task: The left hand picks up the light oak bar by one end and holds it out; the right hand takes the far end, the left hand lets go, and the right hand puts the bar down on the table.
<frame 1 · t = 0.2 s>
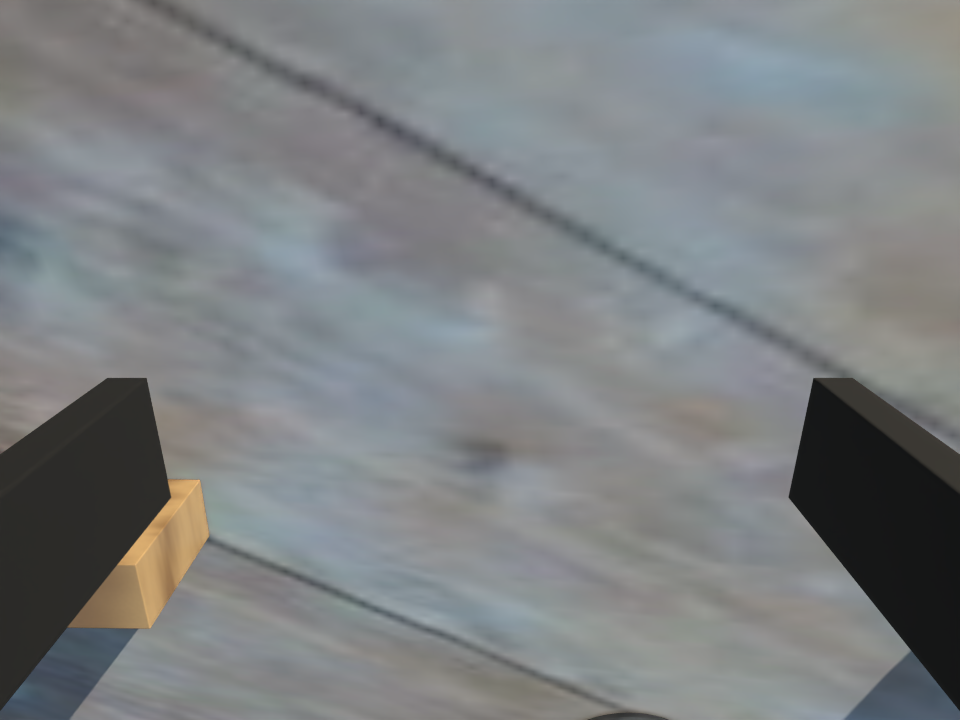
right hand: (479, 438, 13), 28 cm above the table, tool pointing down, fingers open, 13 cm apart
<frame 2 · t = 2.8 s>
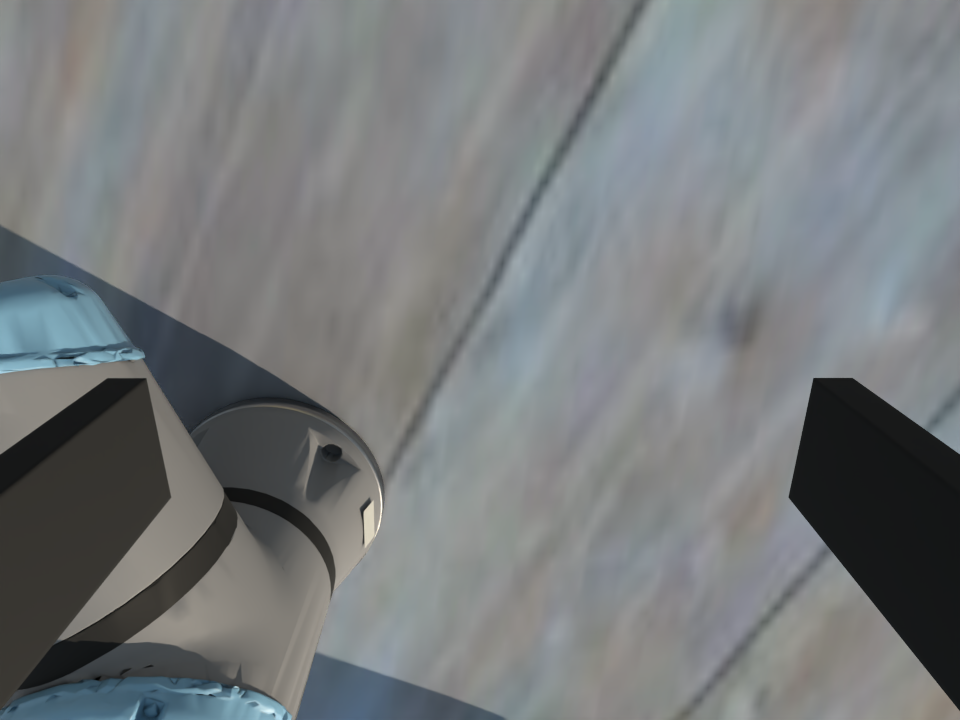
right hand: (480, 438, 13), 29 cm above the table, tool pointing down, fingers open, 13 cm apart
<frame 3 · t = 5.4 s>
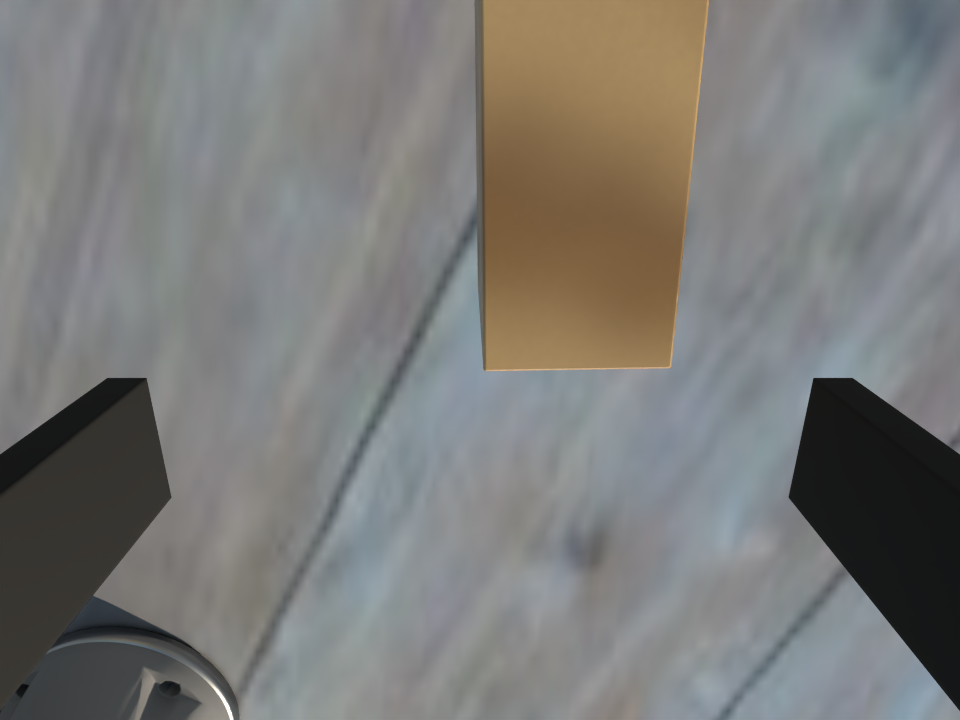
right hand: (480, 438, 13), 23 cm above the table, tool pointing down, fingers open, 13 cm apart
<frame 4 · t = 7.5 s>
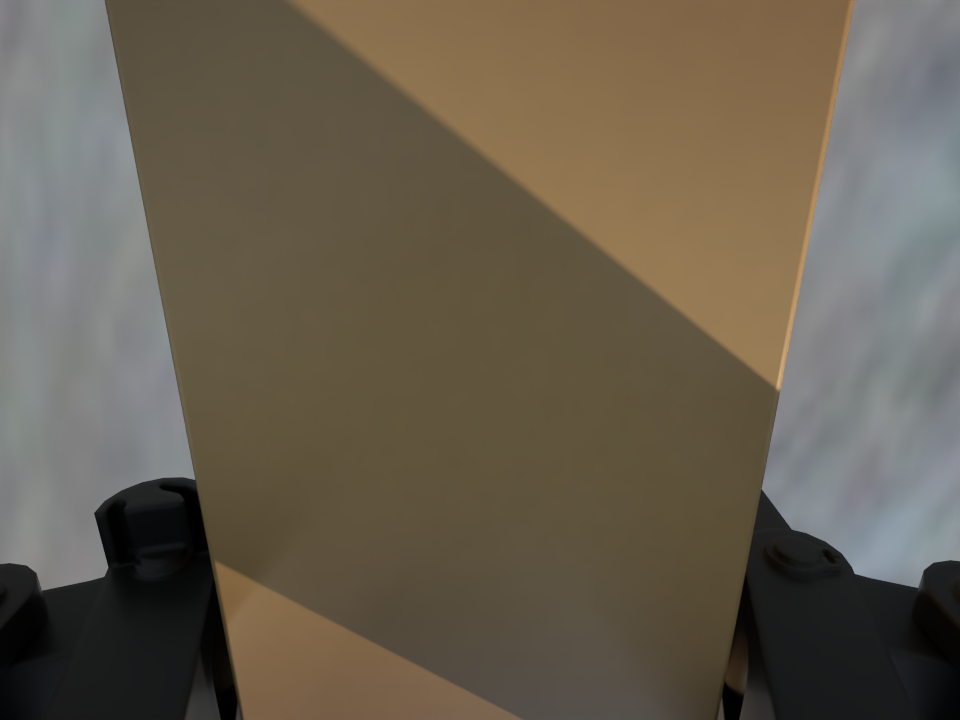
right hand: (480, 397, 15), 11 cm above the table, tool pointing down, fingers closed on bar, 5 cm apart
when the left hand's fingers open (11 cm above the table, at t = 8.2 s): bar stays where it is, held by the right hand.
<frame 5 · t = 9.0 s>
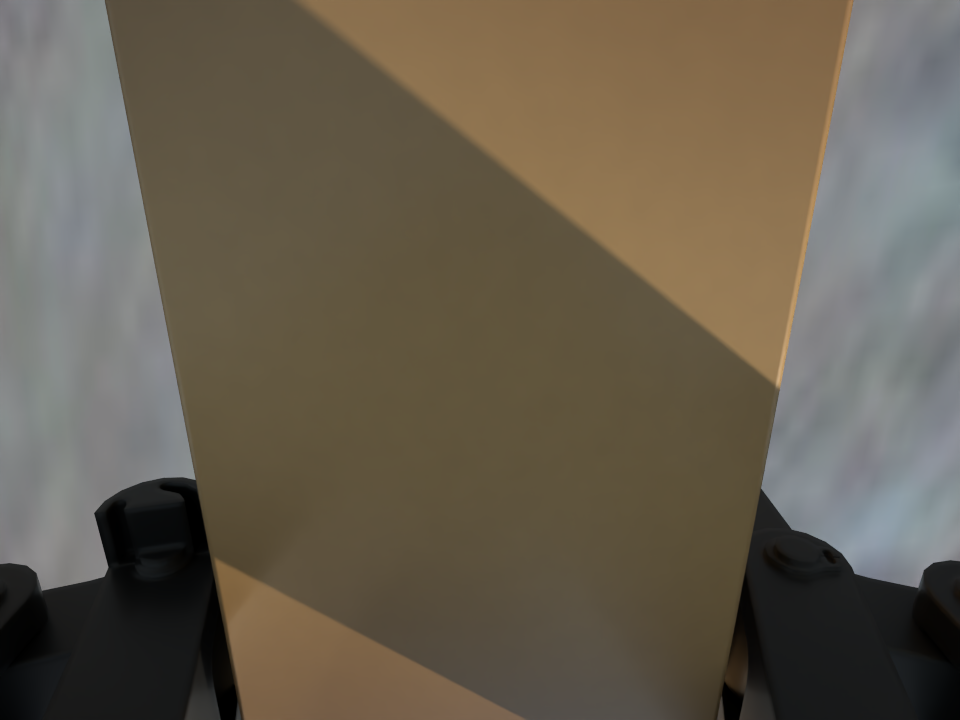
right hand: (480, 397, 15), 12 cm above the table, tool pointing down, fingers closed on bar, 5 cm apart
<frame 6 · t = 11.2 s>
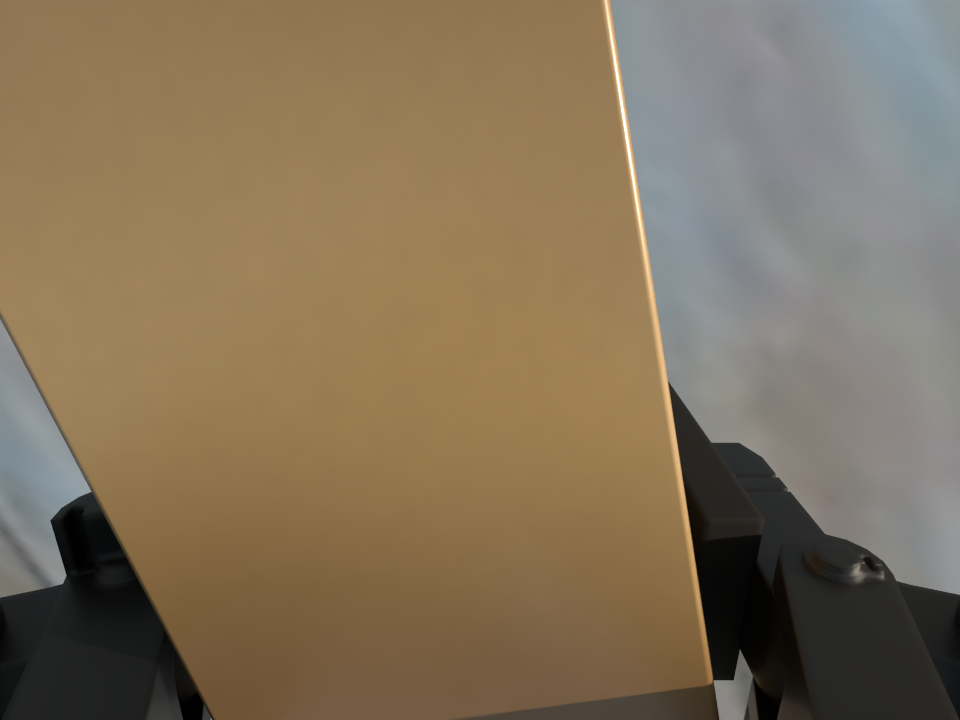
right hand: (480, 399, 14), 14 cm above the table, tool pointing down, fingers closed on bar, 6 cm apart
when the right hand's fingers open (2 cm above the table, at t = 13.1 s): bar drops 1 cm, on the table.
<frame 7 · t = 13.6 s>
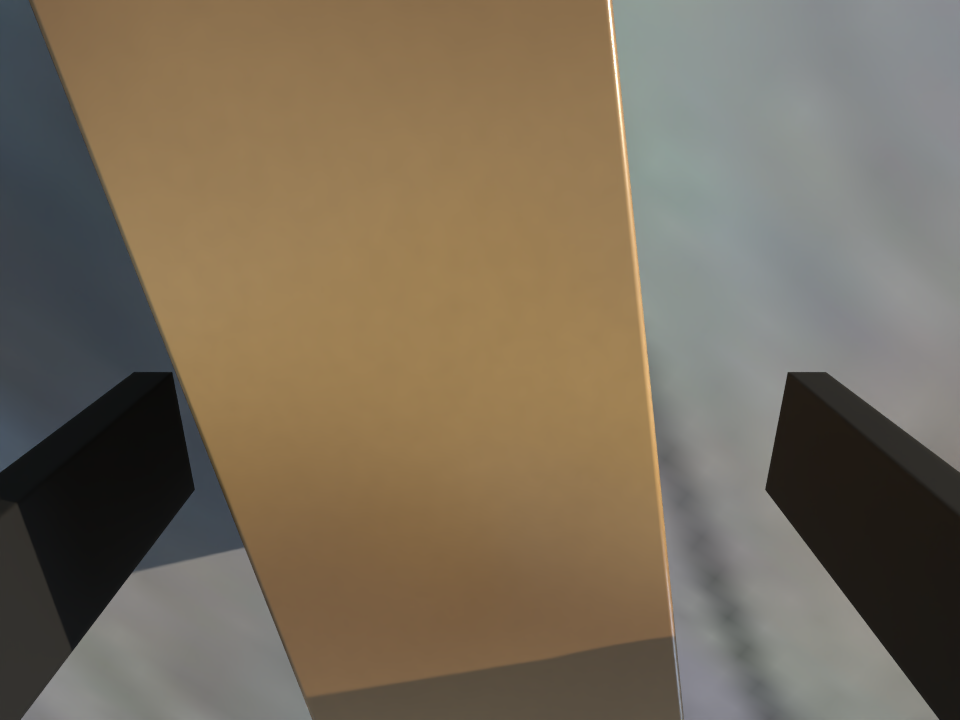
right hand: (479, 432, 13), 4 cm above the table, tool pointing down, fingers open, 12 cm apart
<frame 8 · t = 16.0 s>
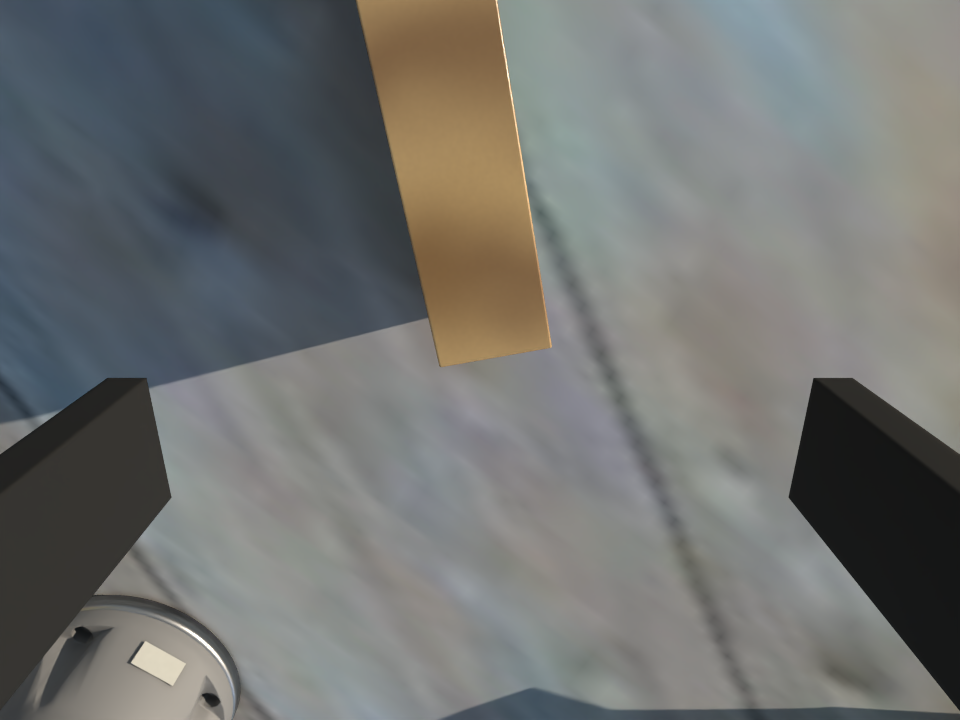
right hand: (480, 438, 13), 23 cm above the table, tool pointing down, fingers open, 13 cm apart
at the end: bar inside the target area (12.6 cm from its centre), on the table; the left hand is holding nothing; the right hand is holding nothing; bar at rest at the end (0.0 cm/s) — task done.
